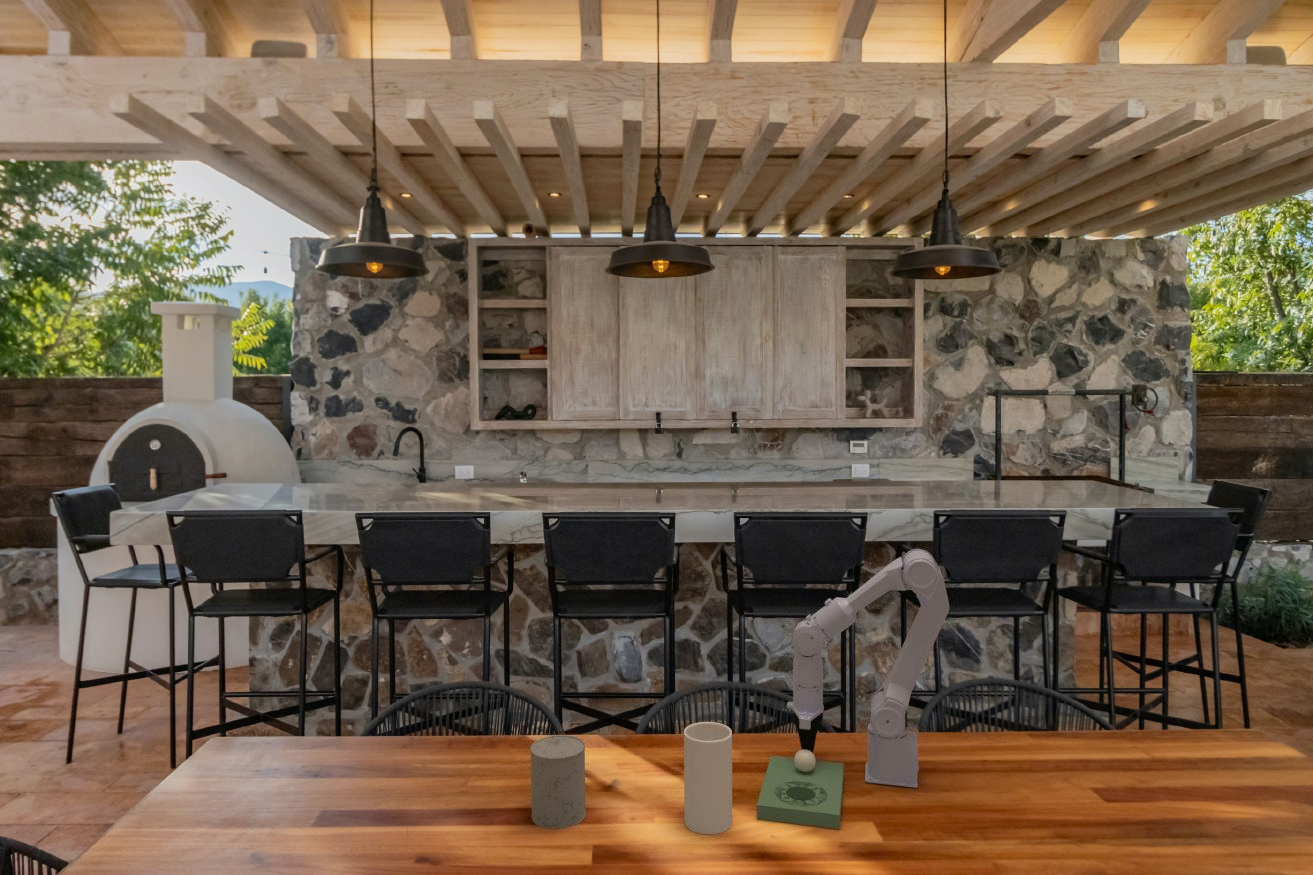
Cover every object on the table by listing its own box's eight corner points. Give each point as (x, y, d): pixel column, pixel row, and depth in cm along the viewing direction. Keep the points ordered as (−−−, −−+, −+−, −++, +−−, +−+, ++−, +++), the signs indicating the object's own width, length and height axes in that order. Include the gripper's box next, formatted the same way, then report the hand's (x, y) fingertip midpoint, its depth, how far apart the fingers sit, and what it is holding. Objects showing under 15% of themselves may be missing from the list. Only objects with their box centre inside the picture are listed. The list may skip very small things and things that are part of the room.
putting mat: (771, 767, 162) (771, 755, 162) (843, 775, 158) (843, 763, 158) (756, 818, 143) (756, 804, 142) (839, 829, 139) (839, 814, 139)
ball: (816, 767, 156) (816, 746, 156) (814, 776, 153) (815, 755, 152) (795, 764, 158) (795, 744, 157) (793, 774, 154) (793, 753, 153)
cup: (729, 836, 137) (729, 742, 136) (680, 831, 139) (680, 739, 138) (734, 812, 145) (734, 723, 144) (688, 807, 147) (688, 719, 146)
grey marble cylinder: (594, 805, 147) (593, 738, 147) (571, 832, 138) (571, 761, 138) (546, 797, 151) (545, 732, 150) (521, 823, 142) (520, 753, 141)
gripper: (791, 669, 169) (791, 733, 170) (783, 694, 155) (783, 764, 156) (826, 672, 167) (825, 737, 168) (821, 697, 153) (821, 768, 154)
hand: (807, 750), depth 162 cm, fingers closed
